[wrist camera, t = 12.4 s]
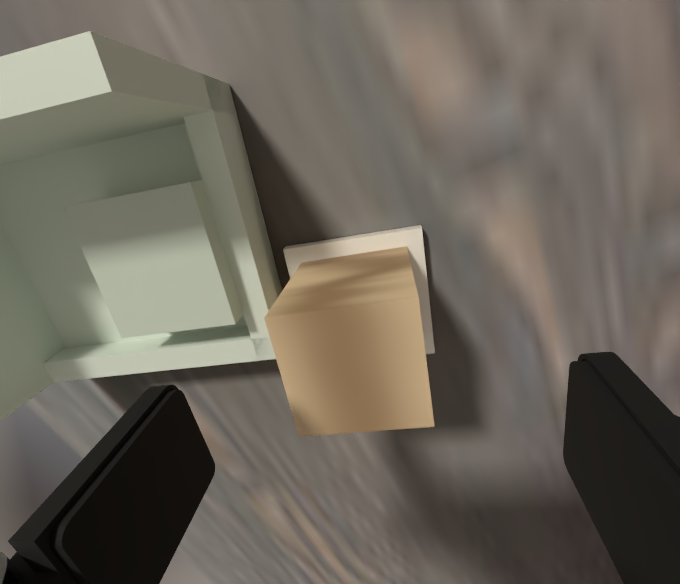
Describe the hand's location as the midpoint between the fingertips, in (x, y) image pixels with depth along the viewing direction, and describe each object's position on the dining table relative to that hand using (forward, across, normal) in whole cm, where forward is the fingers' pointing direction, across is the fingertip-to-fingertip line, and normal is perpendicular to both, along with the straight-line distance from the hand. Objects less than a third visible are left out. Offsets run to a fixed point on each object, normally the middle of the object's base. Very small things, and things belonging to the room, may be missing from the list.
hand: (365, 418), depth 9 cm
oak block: (+9, +1, +1) cm, 9 cm away
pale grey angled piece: (+10, +12, -3) cm, 16 cm away
